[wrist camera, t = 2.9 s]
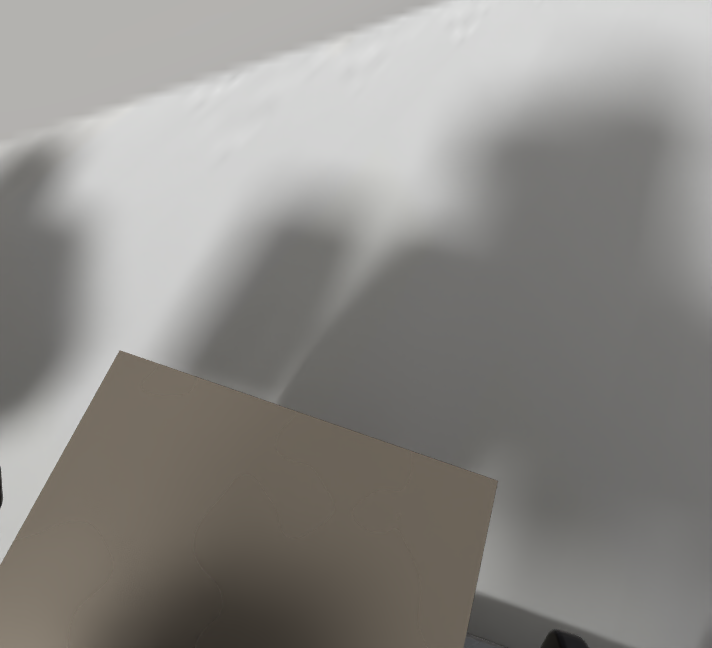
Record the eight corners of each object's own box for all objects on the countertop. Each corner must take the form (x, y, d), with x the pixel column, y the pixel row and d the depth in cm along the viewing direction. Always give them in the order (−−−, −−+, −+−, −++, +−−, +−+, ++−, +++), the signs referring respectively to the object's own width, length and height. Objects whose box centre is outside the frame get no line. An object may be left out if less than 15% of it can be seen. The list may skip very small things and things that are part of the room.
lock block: (339, 698, 13) (371, 1091, 4) (167, 632, 14) (-163, 856, 4) (392, 506, 15) (498, 476, 6) (241, 453, 16) (121, 347, 6)
